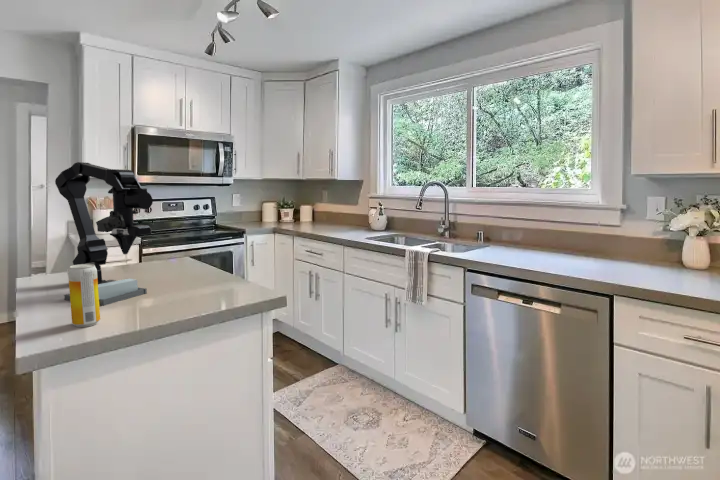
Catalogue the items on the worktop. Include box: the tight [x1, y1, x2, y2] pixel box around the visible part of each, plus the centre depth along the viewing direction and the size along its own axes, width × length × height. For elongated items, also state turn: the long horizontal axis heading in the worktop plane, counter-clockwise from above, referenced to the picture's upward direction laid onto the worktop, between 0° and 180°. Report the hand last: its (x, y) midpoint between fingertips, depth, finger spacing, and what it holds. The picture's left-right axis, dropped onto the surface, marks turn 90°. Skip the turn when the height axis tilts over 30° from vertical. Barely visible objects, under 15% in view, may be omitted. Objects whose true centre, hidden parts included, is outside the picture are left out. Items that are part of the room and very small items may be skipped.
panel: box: [98, 278, 139, 299], centre depth 134 cm, size 4×12×5 cm, turn 148°
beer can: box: [67, 264, 101, 328], centre depth 109 cm, size 6×6×15 cm
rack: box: [63, 279, 148, 307], centre depth 135 cm, size 16×16×4 cm
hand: (125, 254), depth 145 cm, fingers closed
